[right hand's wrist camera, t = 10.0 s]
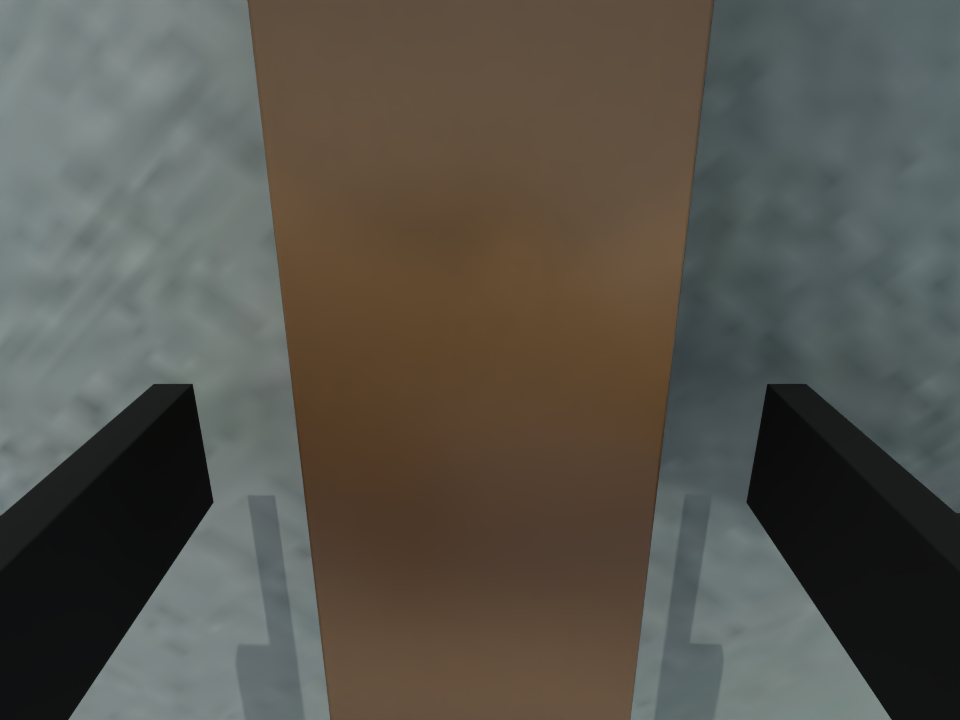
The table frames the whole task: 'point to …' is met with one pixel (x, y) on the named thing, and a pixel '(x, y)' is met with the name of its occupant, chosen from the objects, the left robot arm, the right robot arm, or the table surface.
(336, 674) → the post
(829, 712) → the table surface
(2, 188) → the table surface
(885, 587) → the right robot arm
